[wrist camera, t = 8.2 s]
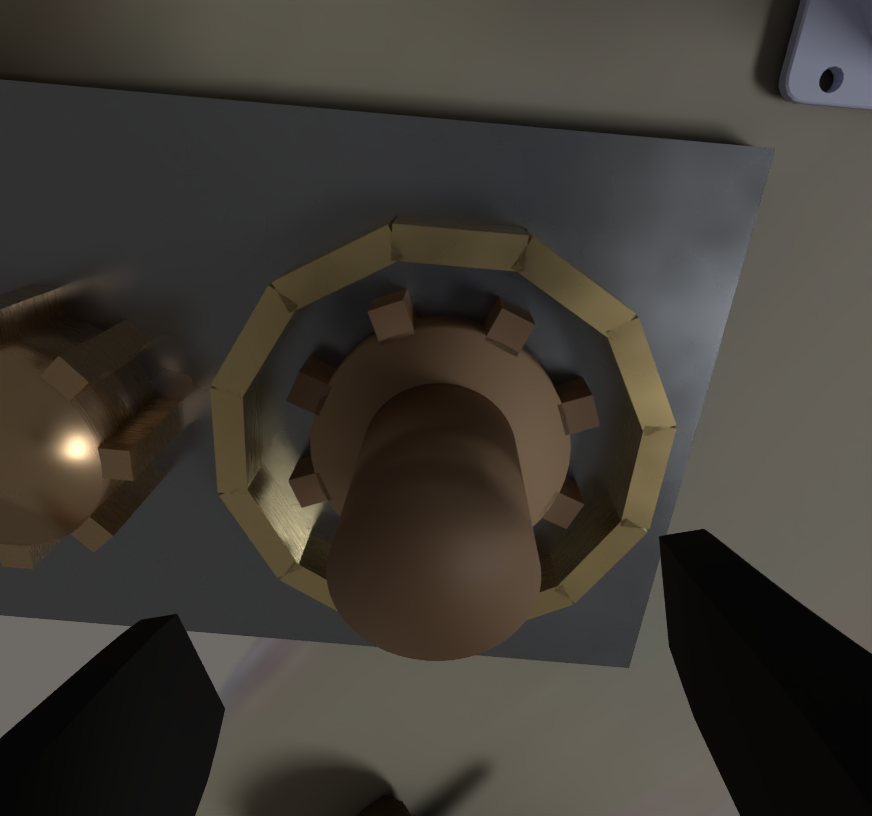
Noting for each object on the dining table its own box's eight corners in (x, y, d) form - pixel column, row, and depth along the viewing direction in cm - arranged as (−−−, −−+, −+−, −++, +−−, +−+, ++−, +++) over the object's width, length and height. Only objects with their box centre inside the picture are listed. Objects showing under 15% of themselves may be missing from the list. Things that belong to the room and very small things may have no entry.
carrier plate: (755, 148, 15) (854, 150, 11) (621, 644, 21) (656, 750, 18) (-152, 67, 15) (-355, 41, 11) (-10, 591, 21) (-108, 686, 17)
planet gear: (549, 242, 15) (608, 304, 9) (617, 516, 18) (693, 690, 12) (242, 341, 16) (126, 450, 10) (356, 582, 19) (314, 767, 13)
